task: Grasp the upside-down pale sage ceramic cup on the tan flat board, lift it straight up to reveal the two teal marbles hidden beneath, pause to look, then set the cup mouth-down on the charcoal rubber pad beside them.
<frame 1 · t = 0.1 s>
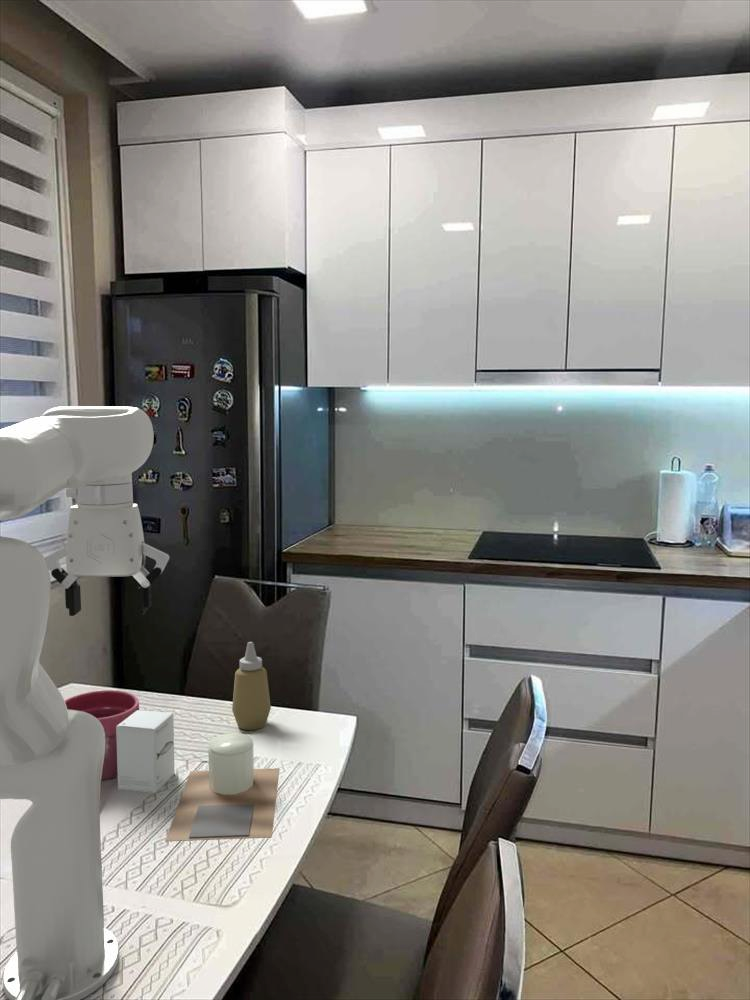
hand: (109, 612, 107), 37 cm above the table, tool pointing down, fingers open, 9 cm apart
marble a: (225, 772, 130), point 3 cm above the table, touching tan flat board
sage cup: (231, 783, 129), point 1 cm above the table, touching tan flat board
tan flat board: (227, 808, 123), on the table
squeeze bottle: (251, 726, 156), on the table
supplement box: (147, 788, 130), on the table
marble b: (237, 778, 127), point 3 cm above the table, touching tan flat board
plant pot: (100, 770, 136), on the table
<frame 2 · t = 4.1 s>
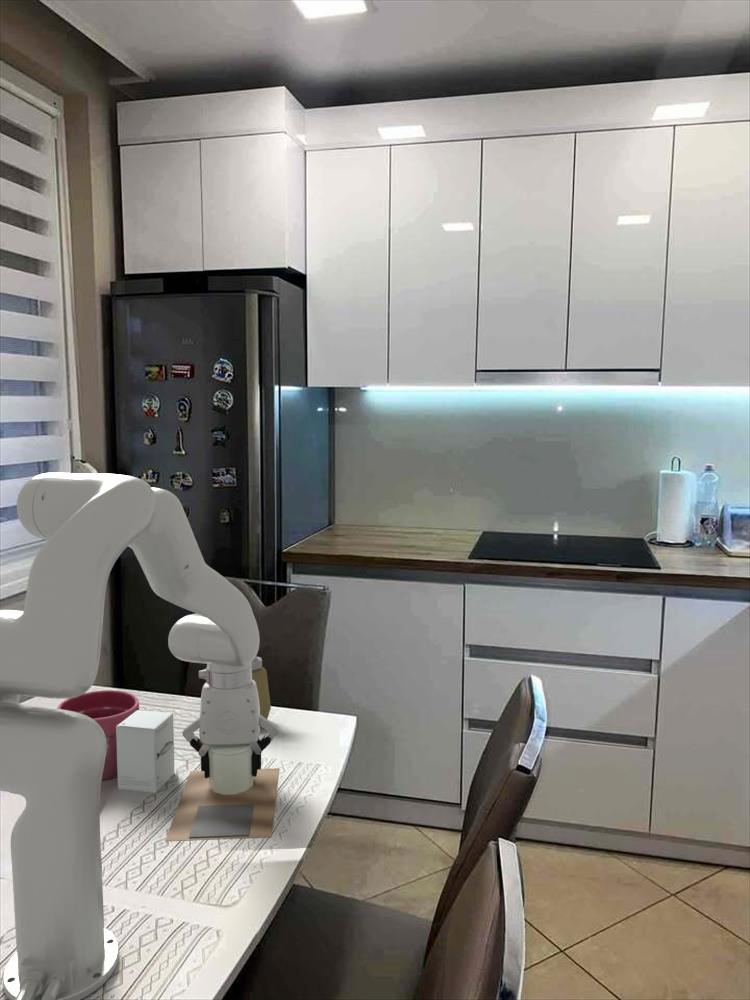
hand: (231, 773, 128), 3 cm above the table, tool pointing down, fingers closed on sage cup, 7 cm apart
sage cup: (231, 783, 129), point 1 cm above the table, touching tan flat board, gripper
everything else where it was.
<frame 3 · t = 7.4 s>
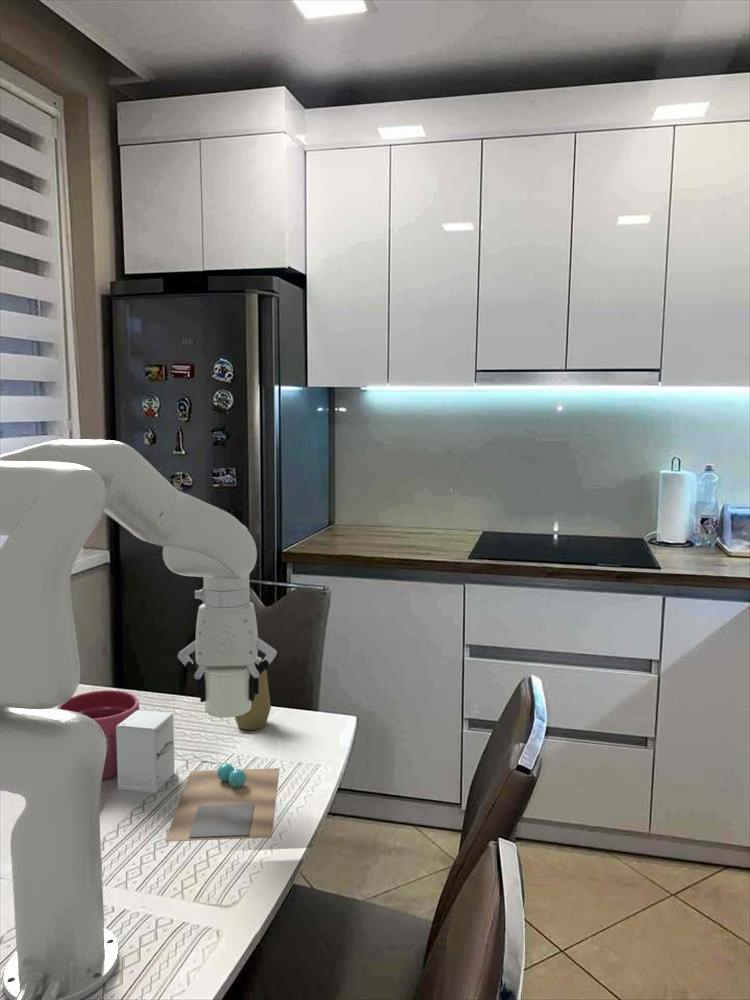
hand: (228, 698, 125), 17 cm above the table, tool pointing down, fingers closed on sage cup, 7 cm apart
sage cup: (228, 708, 125), point 16 cm above the table, touching gripper
everything else where it was.
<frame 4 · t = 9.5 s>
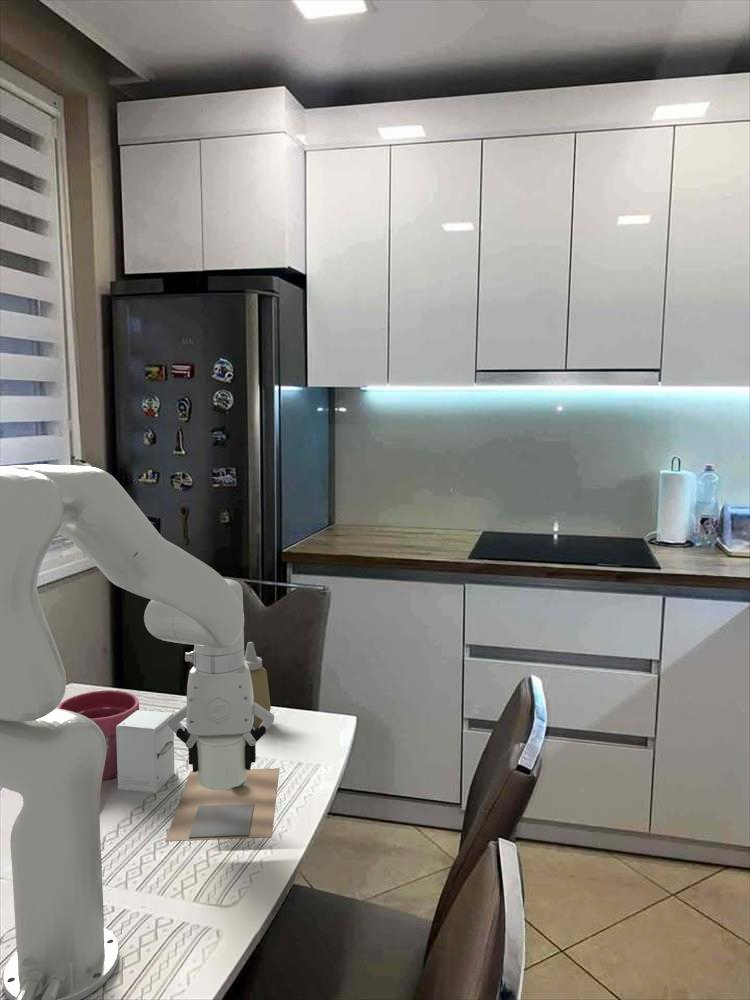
hand: (222, 766, 116), 10 cm above the table, tool pointing down, fingers closed on sage cup, 7 cm apart
sage cup: (223, 777, 116), point 8 cm above the table, touching gripper
everything else where it was.
when the fingers open (5 cm above the table, at t = 11.1 s): sage cup drops 1 cm, resting on tan flat board.
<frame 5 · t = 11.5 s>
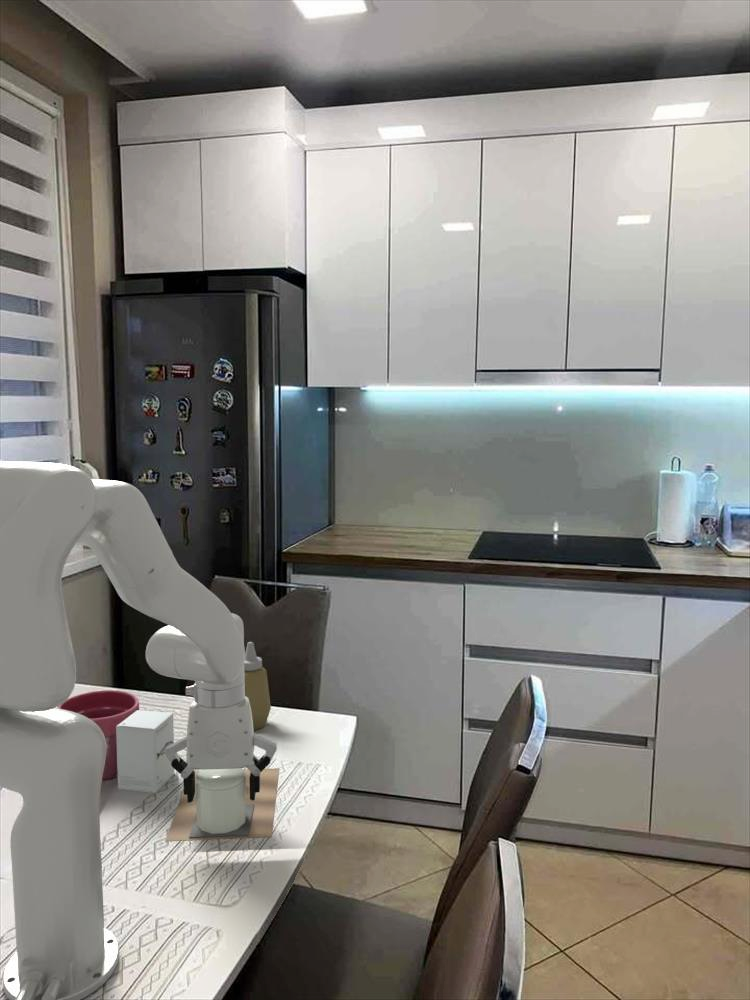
hand: (222, 797, 116), 5 cm above the table, tool pointing down, fingers open, 9 cm apart
sage cup: (221, 820, 117), point 1 cm above the table, touching tan flat board
everything else where it was.
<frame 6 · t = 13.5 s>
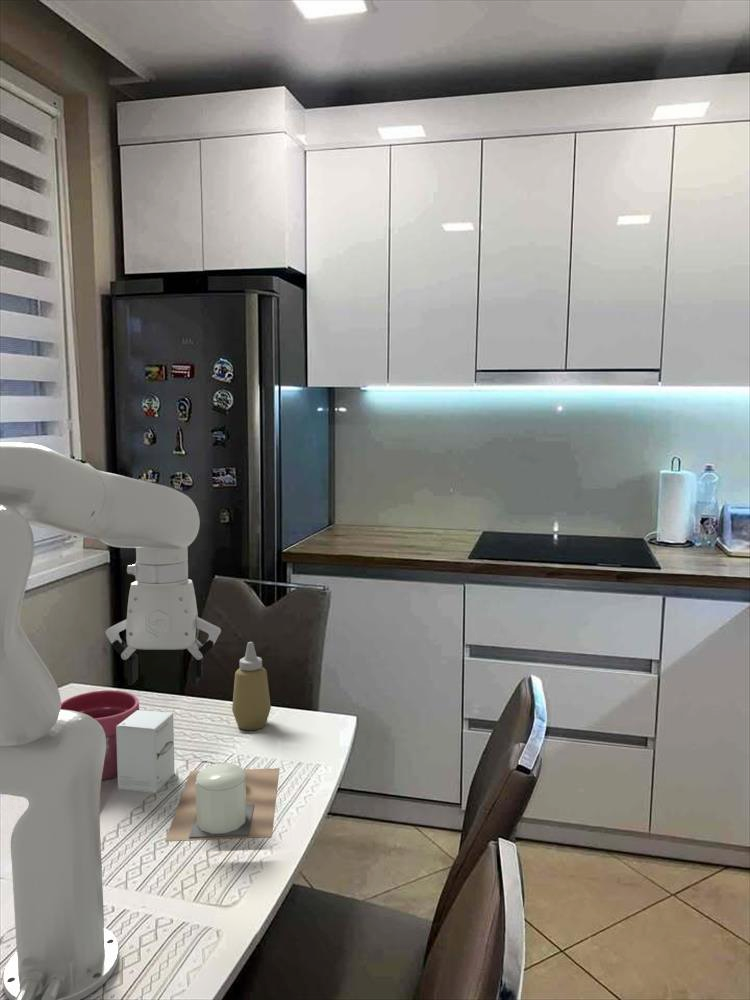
hand: (164, 682, 113), 24 cm above the table, tool pointing down, fingers open, 9 cm apart
nothing on the table moved.
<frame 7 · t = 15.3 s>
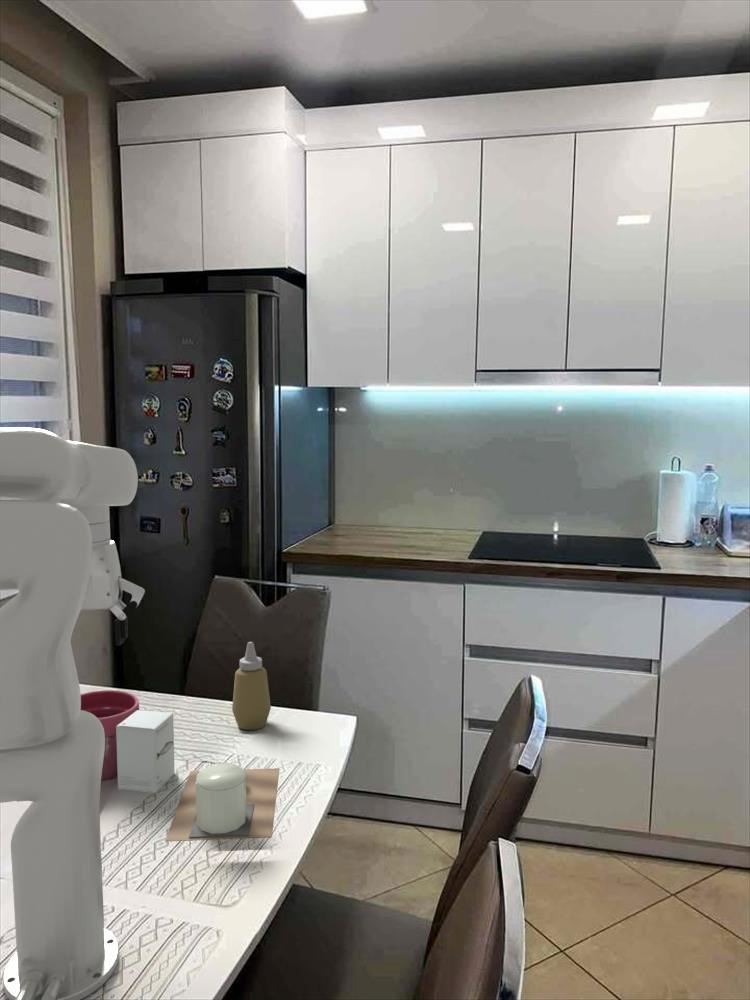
hand: (88, 643, 113), 30 cm above the table, tool pointing down, fingers open, 9 cm apart
nothing on the table moved.
at the end: sage cup 0.2 cm from the target spot on the tan flat board, point 1.4 cm above the tan flat board's base; sage cup tilted 0°; the gripper is holding nothing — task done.
